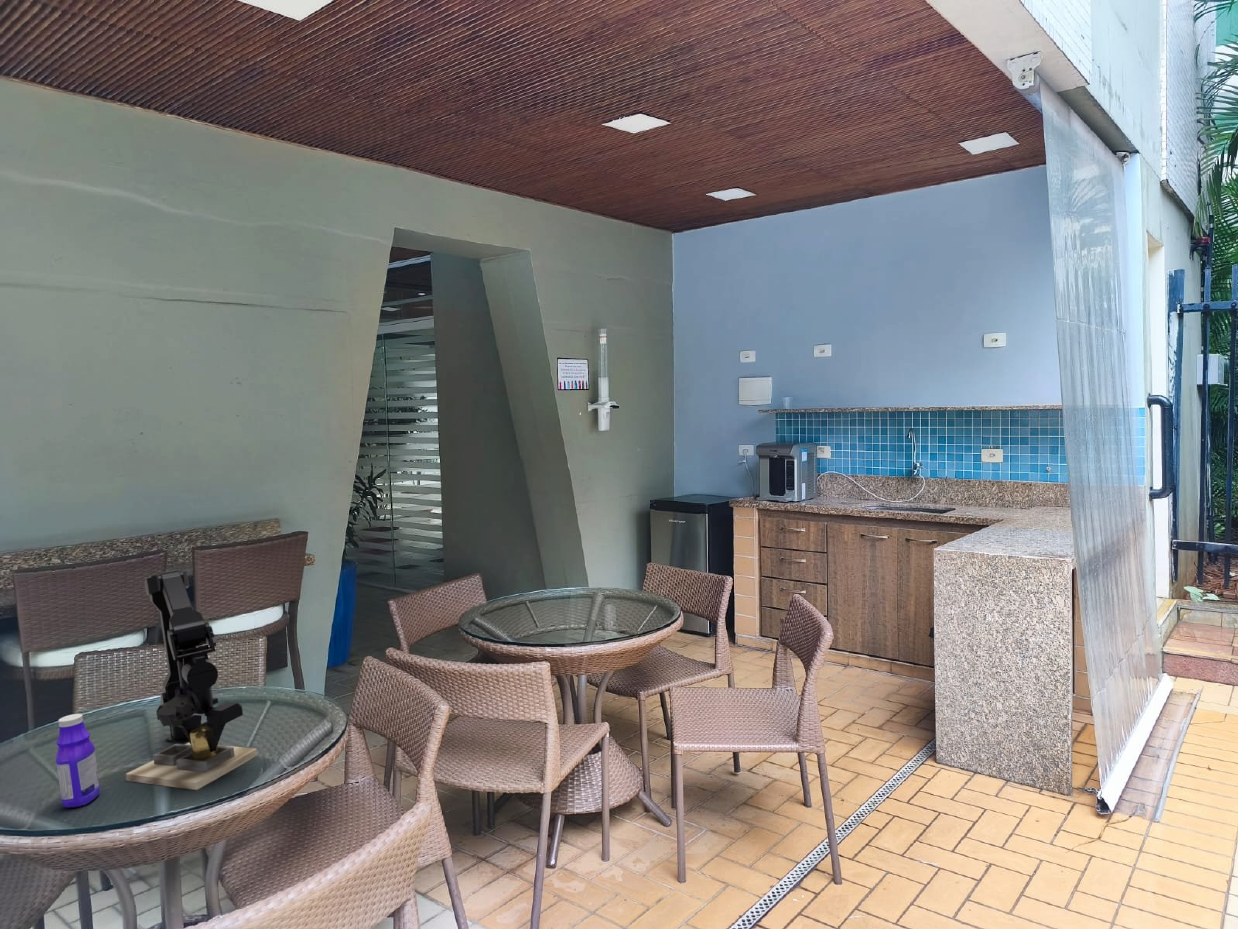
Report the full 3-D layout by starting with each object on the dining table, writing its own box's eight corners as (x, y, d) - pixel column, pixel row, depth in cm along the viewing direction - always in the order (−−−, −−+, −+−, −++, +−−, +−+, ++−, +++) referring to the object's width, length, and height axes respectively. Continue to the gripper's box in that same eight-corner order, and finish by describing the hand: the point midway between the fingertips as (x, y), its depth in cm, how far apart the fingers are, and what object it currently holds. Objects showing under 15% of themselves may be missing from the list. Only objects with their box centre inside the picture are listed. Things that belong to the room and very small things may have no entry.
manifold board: (126, 780, 175) (124, 764, 175) (190, 748, 190) (188, 733, 190) (196, 790, 168) (194, 773, 168) (257, 755, 183) (255, 740, 182)
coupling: (188, 761, 176) (184, 733, 176) (206, 751, 180) (202, 724, 180) (204, 762, 174) (200, 735, 174) (222, 753, 179) (218, 726, 178)
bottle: (77, 794, 171) (65, 712, 169) (106, 791, 171) (94, 709, 170) (56, 811, 164) (44, 726, 162) (87, 808, 164) (74, 722, 163)
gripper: (129, 690, 172) (139, 763, 173) (195, 695, 165) (206, 771, 166) (175, 671, 182) (184, 740, 184) (240, 676, 175) (249, 747, 177)
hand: (204, 750), depth 177 cm, fingers closed on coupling, 4 cm apart
